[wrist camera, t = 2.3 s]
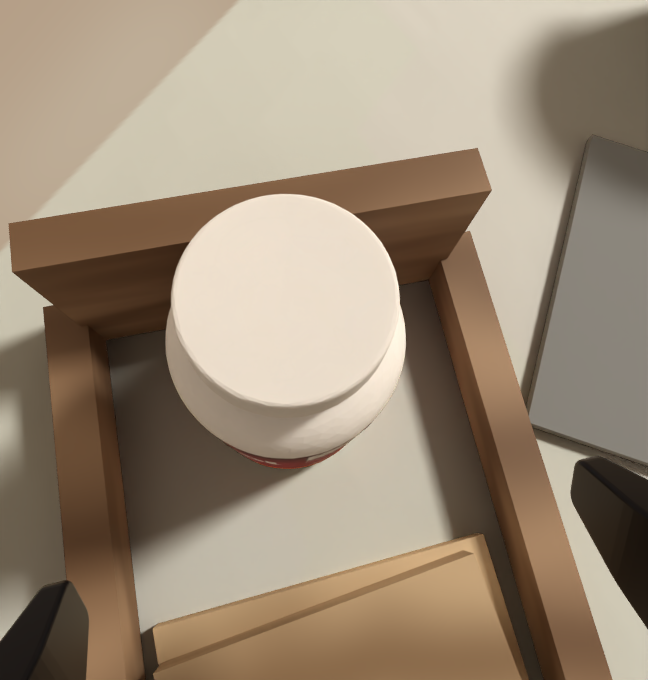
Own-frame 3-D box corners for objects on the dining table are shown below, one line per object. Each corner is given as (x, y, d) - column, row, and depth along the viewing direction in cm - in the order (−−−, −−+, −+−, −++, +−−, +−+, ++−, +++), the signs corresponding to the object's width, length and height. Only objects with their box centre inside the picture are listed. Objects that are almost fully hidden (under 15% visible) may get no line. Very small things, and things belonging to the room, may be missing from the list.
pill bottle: (179, 376, 21) (66, 261, 11) (303, 288, 23) (310, 108, 12) (273, 505, 20) (251, 517, 10) (398, 405, 22) (498, 319, 11)
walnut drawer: (597, 717, 19) (765, 839, 12) (116, 856, 17) (2, 1091, 10) (452, 242, 24) (515, 141, 17) (64, 312, 22) (-38, 231, 15)
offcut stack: (528, 712, 19) (560, 742, 17) (193, 823, 18) (178, 871, 16) (472, 532, 21) (495, 536, 19) (160, 620, 19) (143, 637, 17)
